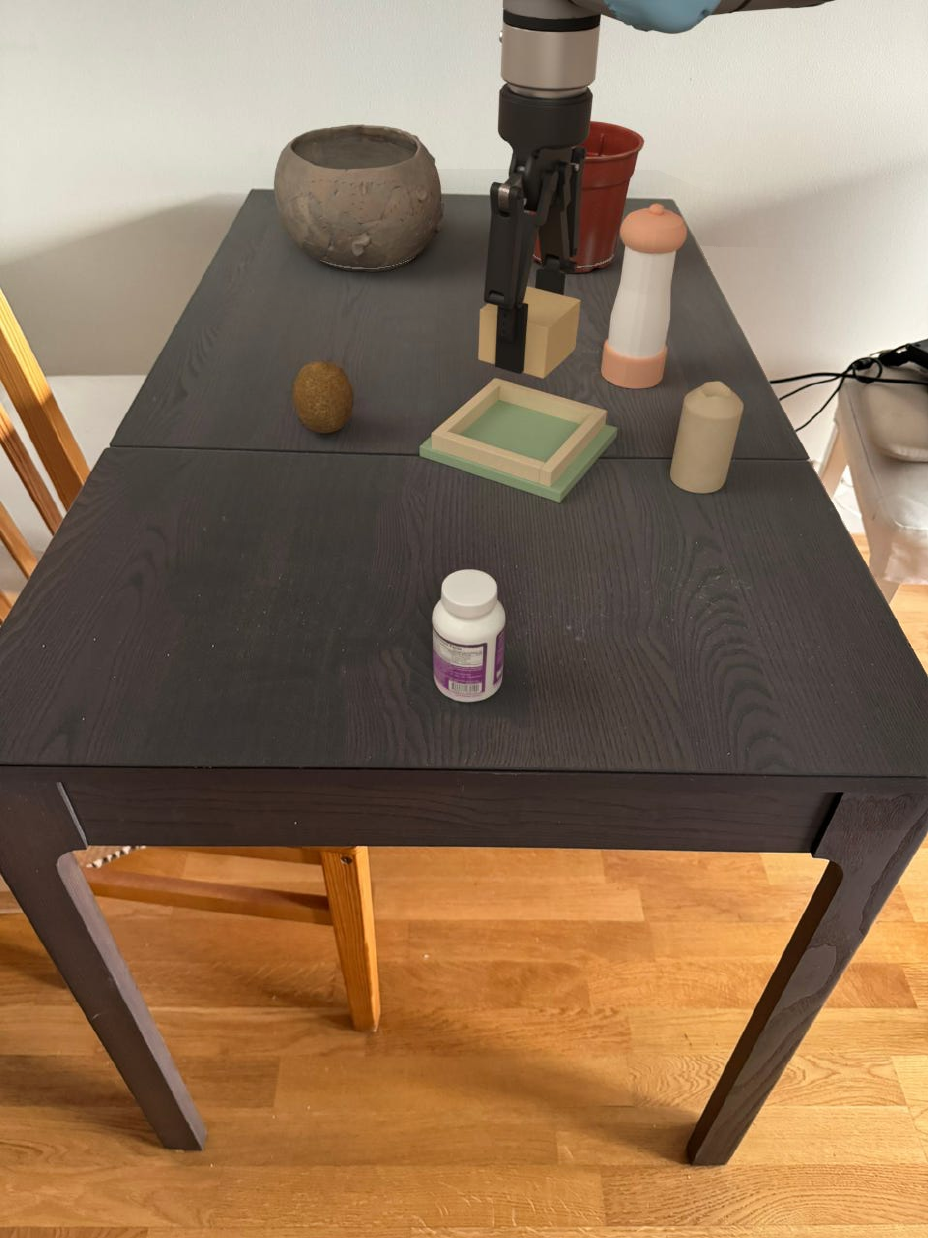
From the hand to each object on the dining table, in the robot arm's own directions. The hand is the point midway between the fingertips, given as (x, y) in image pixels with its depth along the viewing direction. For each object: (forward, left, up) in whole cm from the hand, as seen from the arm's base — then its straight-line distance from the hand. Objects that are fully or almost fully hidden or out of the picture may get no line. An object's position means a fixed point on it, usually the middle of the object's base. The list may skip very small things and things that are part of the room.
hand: (528, 352), depth 89 cm
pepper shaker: (-4, -21, -11) cm, 24 cm away
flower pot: (+17, -49, -11) cm, 53 cm away
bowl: (+44, -34, -11) cm, 57 cm away
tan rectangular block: (0, 0, 0) cm, 0 cm away
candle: (-18, -4, -11) cm, 21 cm away
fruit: (+19, +8, -11) cm, 24 cm away
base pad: (0, 0, -11) cm, 11 cm away
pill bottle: (-12, +32, -11) cm, 36 cm away
